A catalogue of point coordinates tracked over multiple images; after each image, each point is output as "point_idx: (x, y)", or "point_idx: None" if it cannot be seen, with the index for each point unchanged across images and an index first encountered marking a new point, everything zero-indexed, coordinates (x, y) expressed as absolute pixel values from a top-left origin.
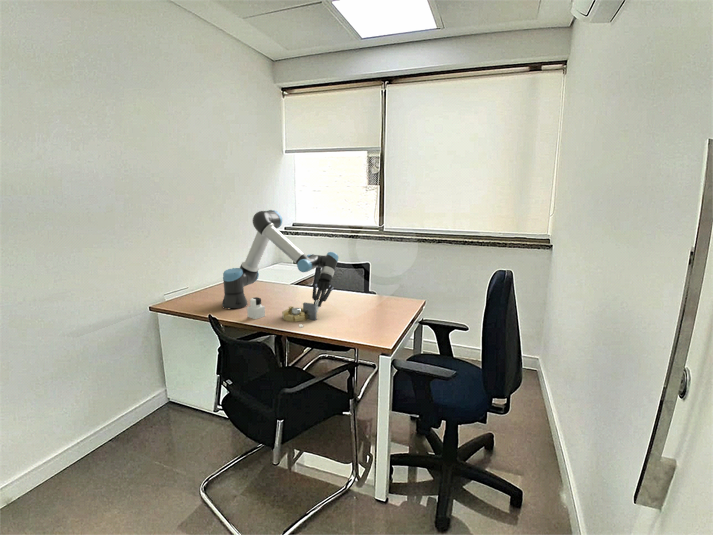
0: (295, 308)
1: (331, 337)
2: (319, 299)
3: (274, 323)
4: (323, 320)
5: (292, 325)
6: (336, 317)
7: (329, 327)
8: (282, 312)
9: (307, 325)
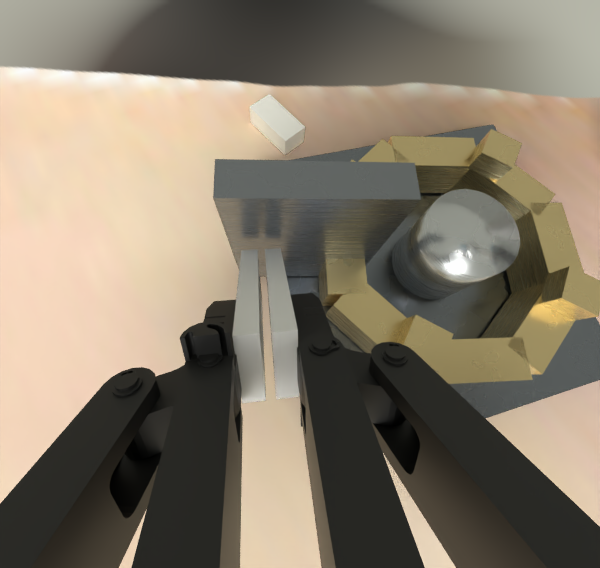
0: (493, 241)
1: (11, 72)
2: (213, 322)
3: None
4: None
5: None
6: None
7: (85, 210)
8: (545, 188)
9: None
